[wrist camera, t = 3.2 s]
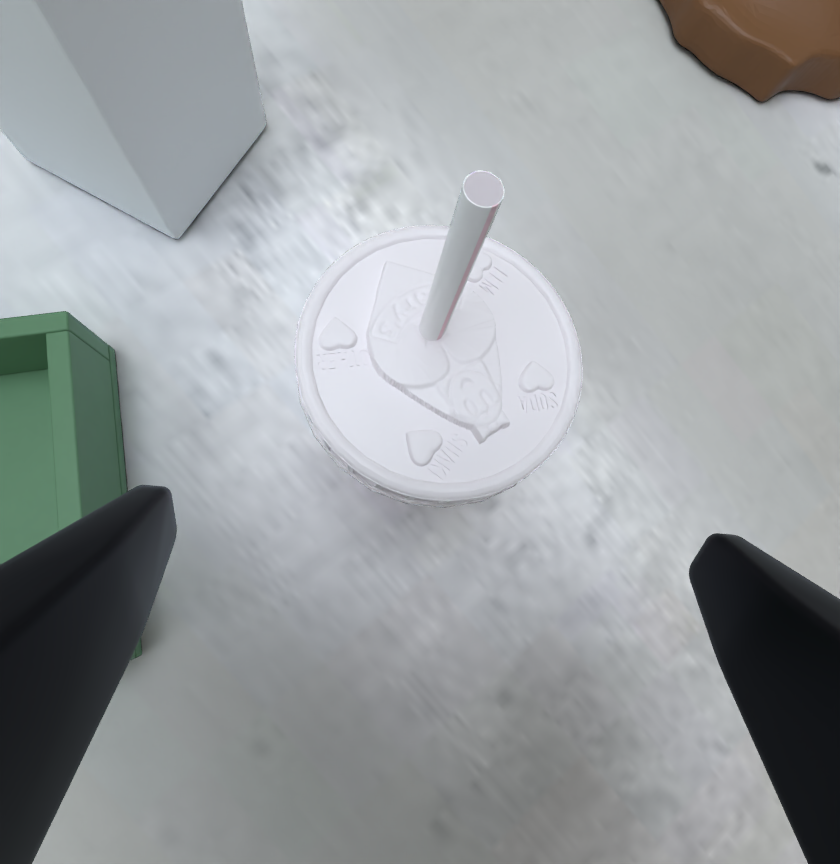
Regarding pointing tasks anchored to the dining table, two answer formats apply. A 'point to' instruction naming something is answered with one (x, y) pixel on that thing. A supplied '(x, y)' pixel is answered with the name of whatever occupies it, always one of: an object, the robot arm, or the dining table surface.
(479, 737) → the dining table surface
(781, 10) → the plant
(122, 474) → the caddy
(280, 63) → the dining table surface
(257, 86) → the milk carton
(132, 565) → the robot arm
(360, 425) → the smoothie
